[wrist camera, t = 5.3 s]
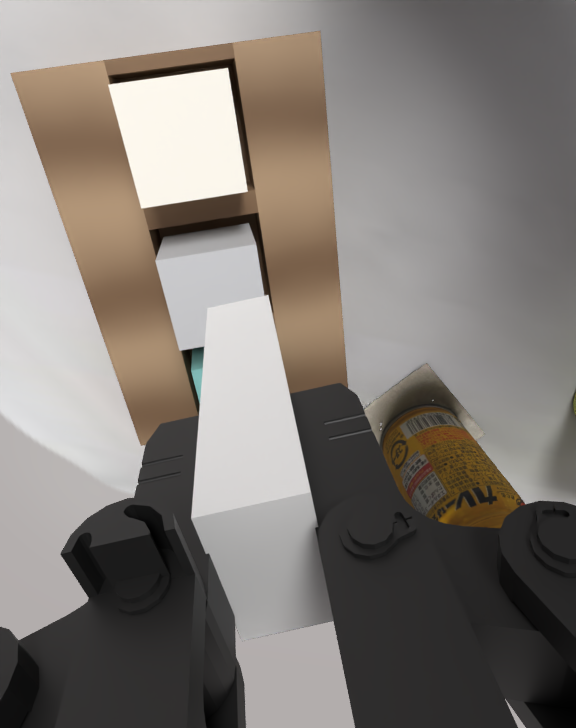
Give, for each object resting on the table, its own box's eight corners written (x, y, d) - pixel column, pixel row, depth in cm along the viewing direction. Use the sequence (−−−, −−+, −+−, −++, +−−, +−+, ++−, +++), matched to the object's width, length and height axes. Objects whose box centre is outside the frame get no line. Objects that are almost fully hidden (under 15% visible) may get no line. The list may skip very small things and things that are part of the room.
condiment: (405, 488, 37) (482, 637, 27) (340, 426, 33) (400, 571, 23) (483, 432, 36) (598, 567, 25) (424, 360, 32) (530, 484, 21)
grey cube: (163, 236, 22) (155, 260, 19) (248, 223, 22) (256, 244, 19) (183, 315, 24) (179, 350, 21) (261, 302, 24) (270, 334, 21)
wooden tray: (42, 78, 22) (10, 72, 18) (302, 42, 22) (320, 30, 19) (148, 406, 30) (141, 445, 27) (333, 372, 31) (349, 405, 28)
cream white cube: (126, 88, 19) (107, 84, 16) (224, 74, 20) (227, 67, 16) (152, 192, 21) (141, 208, 18) (241, 178, 22) (247, 191, 18)
